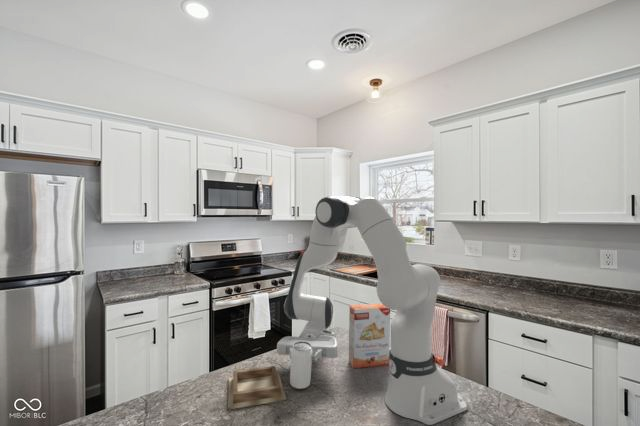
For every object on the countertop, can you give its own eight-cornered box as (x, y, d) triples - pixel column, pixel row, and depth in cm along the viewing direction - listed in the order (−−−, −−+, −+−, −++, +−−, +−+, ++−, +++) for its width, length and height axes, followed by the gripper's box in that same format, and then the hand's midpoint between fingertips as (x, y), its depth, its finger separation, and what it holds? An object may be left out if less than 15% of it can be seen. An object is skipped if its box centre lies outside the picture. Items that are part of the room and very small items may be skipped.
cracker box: (353, 369, 104) (354, 309, 105) (348, 361, 110) (348, 304, 111) (390, 365, 107) (390, 307, 108) (383, 357, 113) (383, 302, 114)
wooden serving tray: (278, 372, 102) (278, 363, 102) (285, 400, 86) (285, 389, 86) (229, 379, 97) (229, 369, 97) (228, 409, 82) (228, 398, 82)
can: (308, 391, 89) (311, 352, 89) (287, 388, 90) (289, 349, 90) (311, 378, 96) (313, 341, 95) (292, 375, 97) (294, 339, 96)
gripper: (282, 329, 107) (270, 345, 93) (339, 332, 104) (335, 349, 90) (282, 347, 107) (270, 365, 93) (339, 350, 104) (335, 370, 90)
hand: (302, 357), depth 92 cm, fingers closed on can, 5 cm apart
